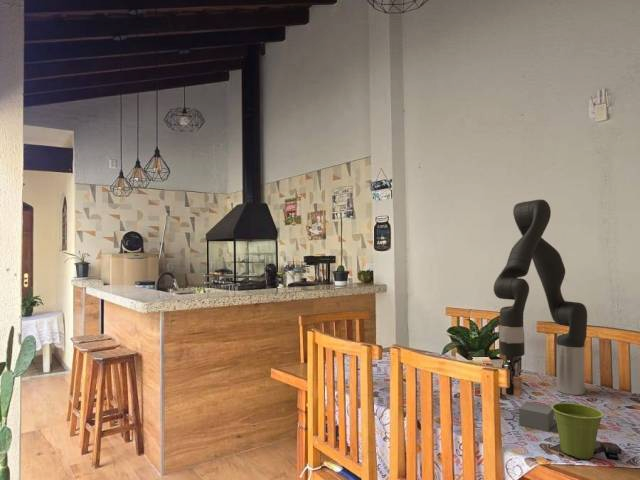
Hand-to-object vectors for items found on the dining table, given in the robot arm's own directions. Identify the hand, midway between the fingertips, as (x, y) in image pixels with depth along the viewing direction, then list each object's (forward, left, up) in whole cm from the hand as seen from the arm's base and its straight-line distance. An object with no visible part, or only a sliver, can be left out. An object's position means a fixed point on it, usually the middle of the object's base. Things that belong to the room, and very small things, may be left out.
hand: (512, 392), depth 150 cm
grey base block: (+6, +9, -6) cm, 12 cm away
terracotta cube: (0, 0, 0) cm, 0 cm away
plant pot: (+21, +22, -7) cm, 31 cm away
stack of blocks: (-20, -17, -7) cm, 27 cm away
